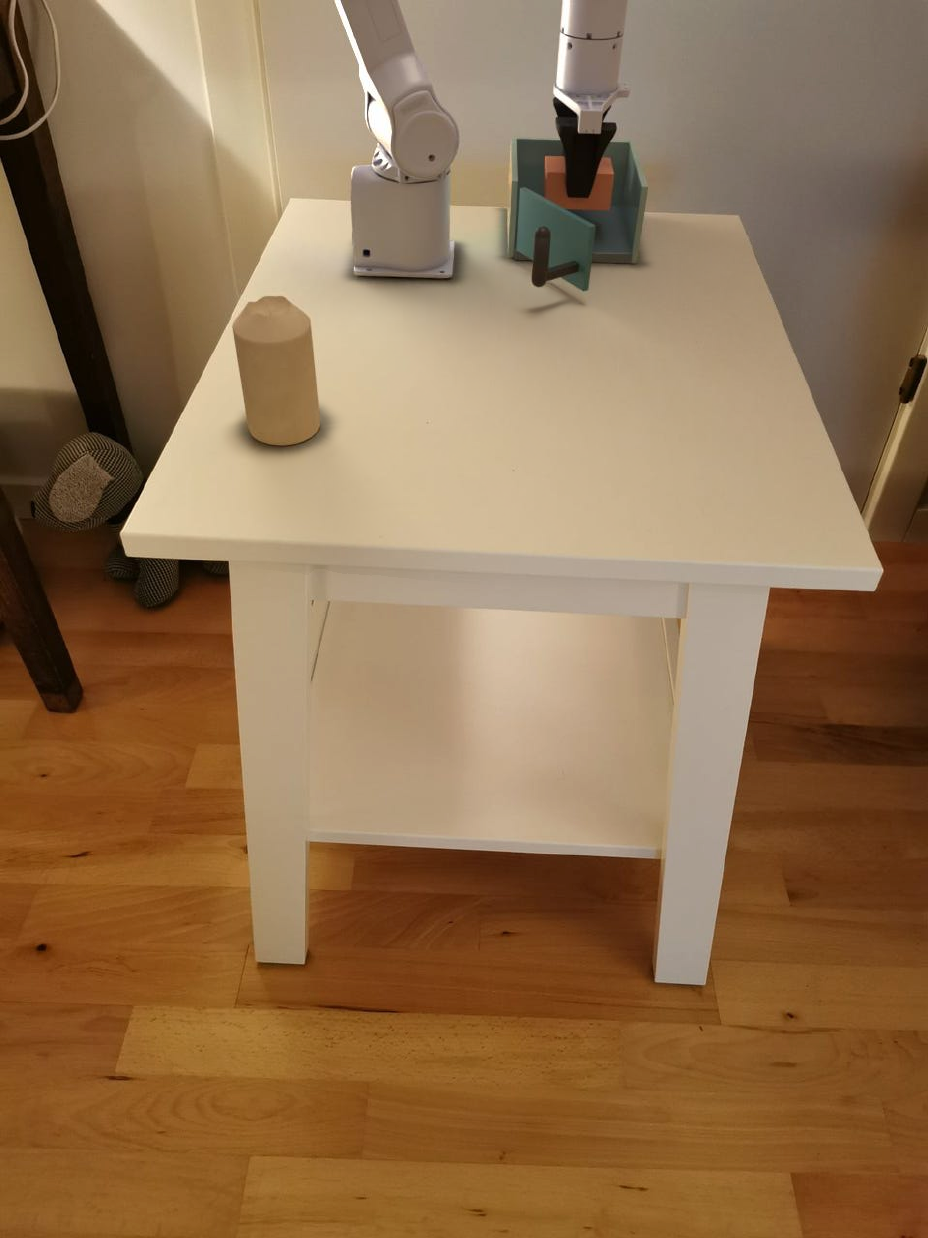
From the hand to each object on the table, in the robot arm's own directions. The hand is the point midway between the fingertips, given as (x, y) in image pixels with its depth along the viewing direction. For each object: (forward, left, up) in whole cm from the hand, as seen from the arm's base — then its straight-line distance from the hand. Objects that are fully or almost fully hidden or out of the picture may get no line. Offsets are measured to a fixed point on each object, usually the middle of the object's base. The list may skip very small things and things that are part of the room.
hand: (576, 186), depth 97 cm
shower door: (-5, -11, -4) cm, 13 cm away
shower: (0, +1, -5) cm, 6 cm away
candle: (-24, -36, -6) cm, 44 cm away
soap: (0, 0, -1) cm, 1 cm away
